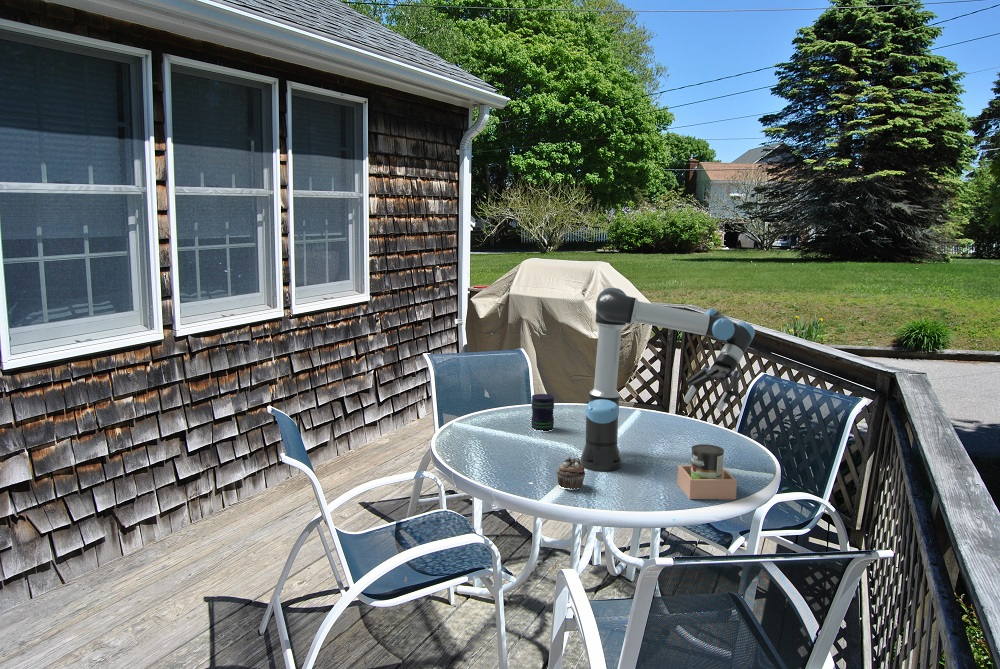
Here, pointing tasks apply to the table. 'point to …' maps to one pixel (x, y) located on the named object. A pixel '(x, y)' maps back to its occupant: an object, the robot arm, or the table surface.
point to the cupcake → (571, 473)
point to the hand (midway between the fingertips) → (701, 405)
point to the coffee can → (706, 462)
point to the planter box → (706, 485)
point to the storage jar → (542, 412)
